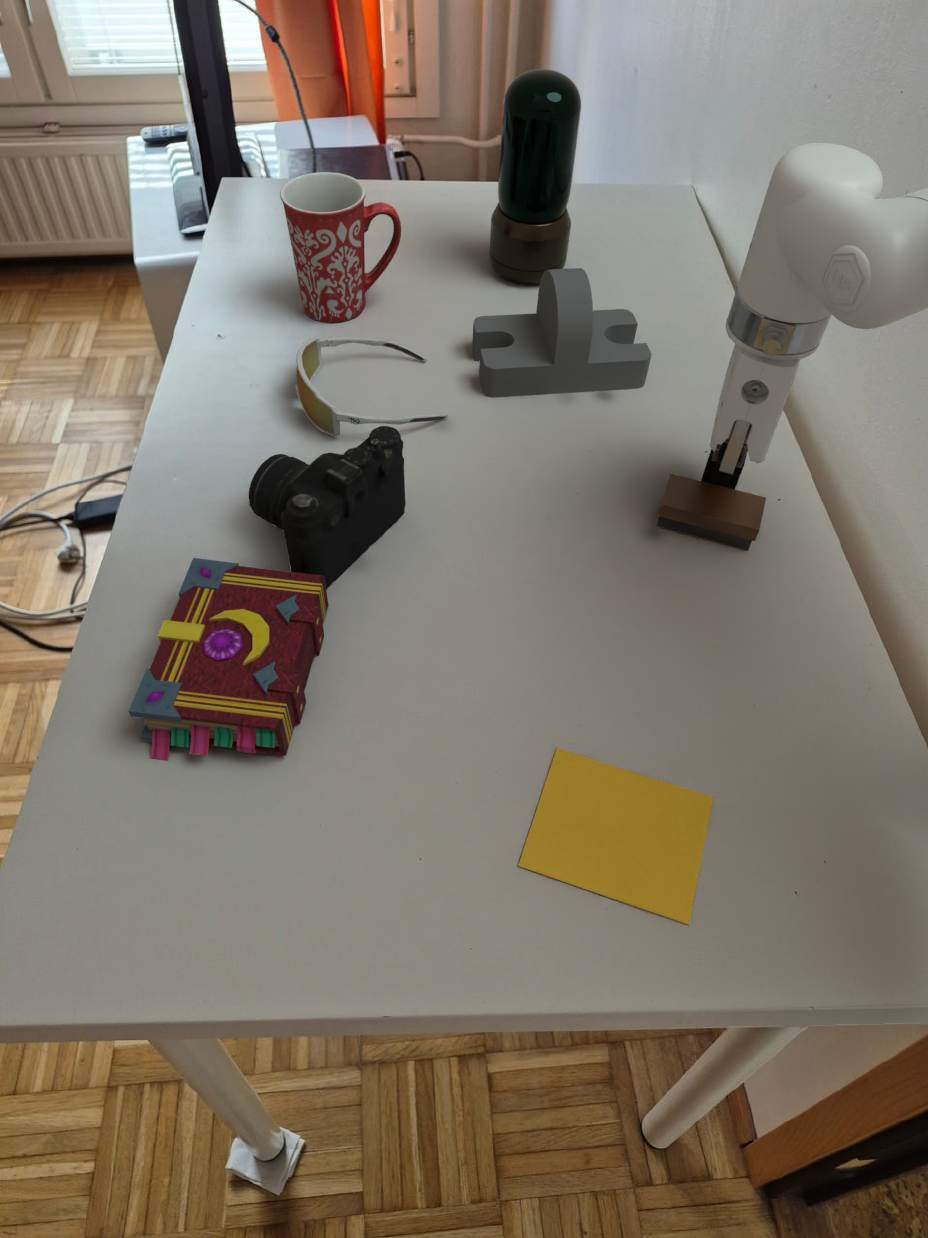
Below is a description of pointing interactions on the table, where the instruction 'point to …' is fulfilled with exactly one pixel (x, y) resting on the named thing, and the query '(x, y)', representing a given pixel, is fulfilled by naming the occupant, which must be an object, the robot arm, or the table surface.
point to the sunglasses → (325, 412)
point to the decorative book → (233, 660)
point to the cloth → (619, 835)
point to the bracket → (559, 344)
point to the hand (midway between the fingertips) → (716, 486)
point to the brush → (711, 511)
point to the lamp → (535, 176)
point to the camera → (333, 502)
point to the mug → (333, 242)
